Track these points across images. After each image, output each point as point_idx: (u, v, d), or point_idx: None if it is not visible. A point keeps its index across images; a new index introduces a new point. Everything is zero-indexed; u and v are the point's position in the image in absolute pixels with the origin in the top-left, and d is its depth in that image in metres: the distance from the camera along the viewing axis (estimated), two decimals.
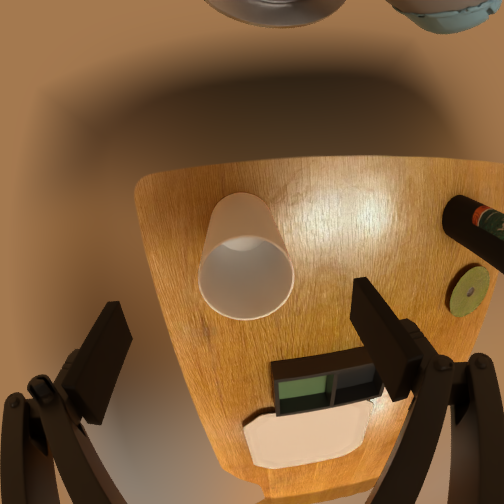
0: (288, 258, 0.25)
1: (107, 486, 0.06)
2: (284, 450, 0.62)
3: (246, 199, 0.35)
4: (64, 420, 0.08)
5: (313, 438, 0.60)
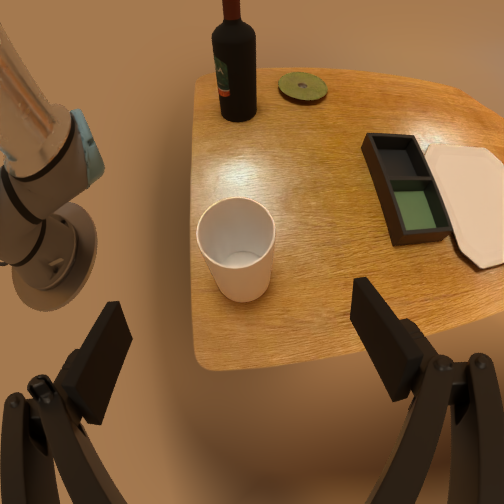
0: (218, 201, 0.32)
1: (107, 486, 0.06)
2: None
3: None
4: (64, 420, 0.08)
5: (484, 196, 0.49)
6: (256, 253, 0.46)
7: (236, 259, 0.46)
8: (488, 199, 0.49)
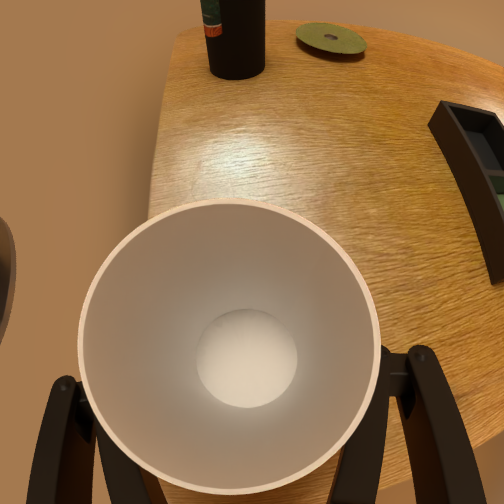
0: (155, 219, 0.08)
1: (148, 475, 0.07)
2: None
3: None
4: None
5: None
6: (273, 315, 0.22)
7: (231, 327, 0.22)
8: None
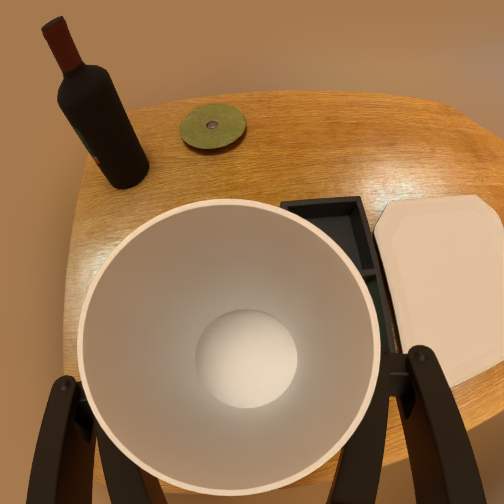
0: (155, 220, 0.08)
1: (148, 475, 0.07)
2: (492, 311, 0.35)
3: None
4: None
5: (465, 275, 0.37)
6: (273, 315, 0.22)
7: (231, 327, 0.22)
8: (470, 279, 0.37)
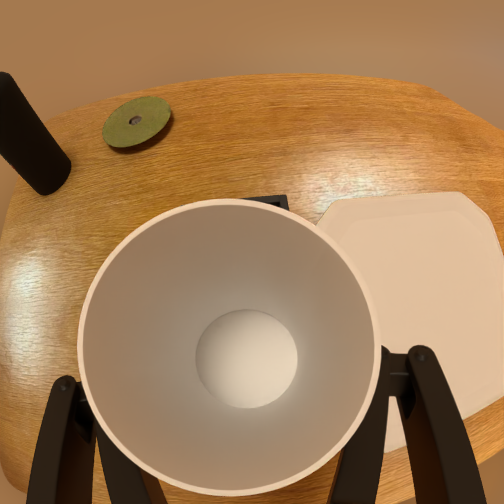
0: (155, 220, 0.08)
1: (148, 475, 0.07)
2: (475, 345, 0.27)
3: None
4: None
5: (438, 298, 0.29)
6: (273, 315, 0.22)
7: (231, 327, 0.22)
8: (445, 303, 0.29)
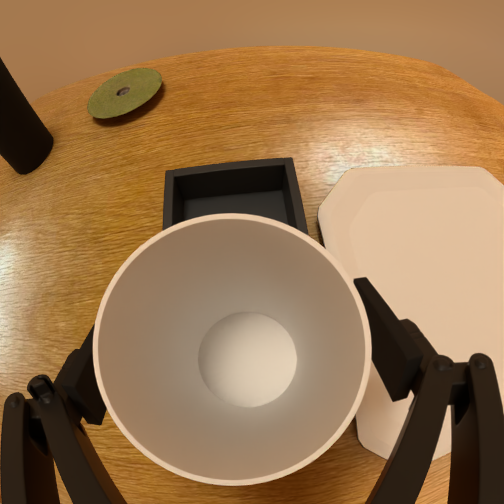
0: (164, 233, 0.09)
1: (107, 486, 0.06)
2: None
3: None
4: (64, 420, 0.08)
5: (470, 283, 0.24)
6: (273, 318, 0.23)
7: (233, 329, 0.23)
8: (477, 289, 0.23)
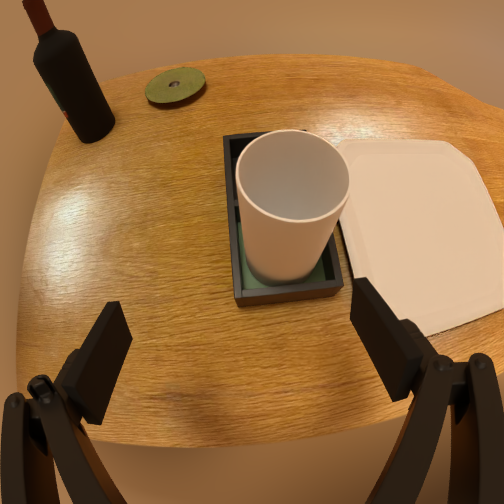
0: (264, 135, 0.21)
1: (107, 486, 0.06)
2: (471, 257, 0.33)
3: None
4: (64, 420, 0.08)
5: (434, 215, 0.36)
6: None
7: None
8: (440, 220, 0.35)
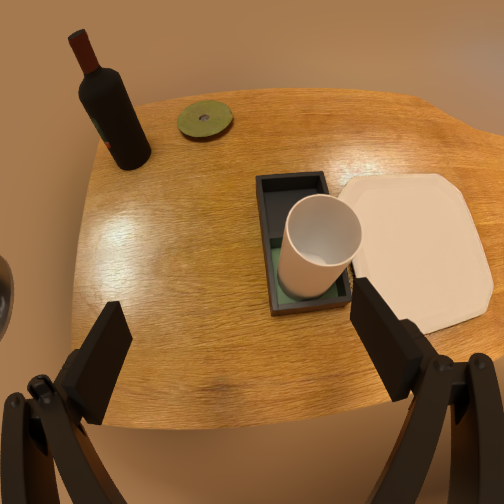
0: (303, 198, 0.31)
1: (107, 486, 0.06)
2: (453, 274, 0.43)
3: (278, 263, 0.41)
4: (64, 420, 0.08)
5: (424, 240, 0.46)
6: (316, 252, 0.45)
7: None
8: (428, 245, 0.45)
